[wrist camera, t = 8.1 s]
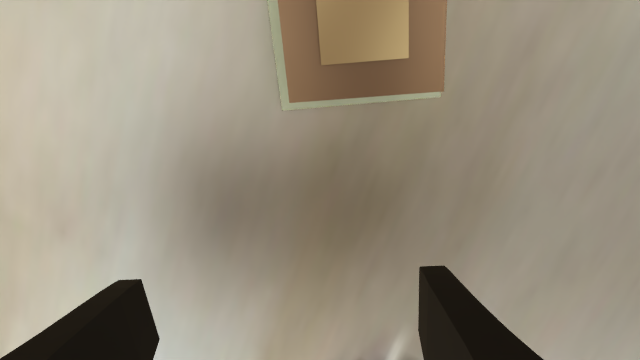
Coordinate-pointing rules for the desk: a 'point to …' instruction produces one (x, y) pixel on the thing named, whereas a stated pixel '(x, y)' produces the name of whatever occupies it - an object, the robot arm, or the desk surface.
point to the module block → (362, 47)
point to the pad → (285, 104)
